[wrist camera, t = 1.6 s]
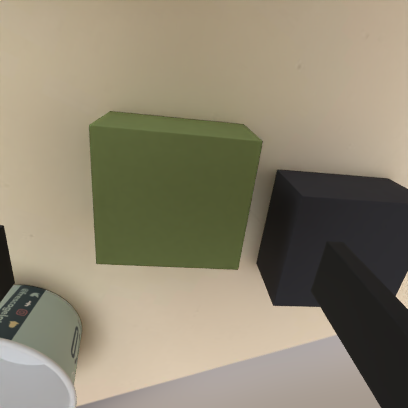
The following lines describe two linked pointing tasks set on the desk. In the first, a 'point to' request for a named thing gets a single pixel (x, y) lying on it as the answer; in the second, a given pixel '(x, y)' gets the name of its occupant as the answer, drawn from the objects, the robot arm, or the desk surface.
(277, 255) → the black block
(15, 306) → the food container
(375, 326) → the robot arm
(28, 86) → the desk surface
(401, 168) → the desk surface
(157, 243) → the olive green block
